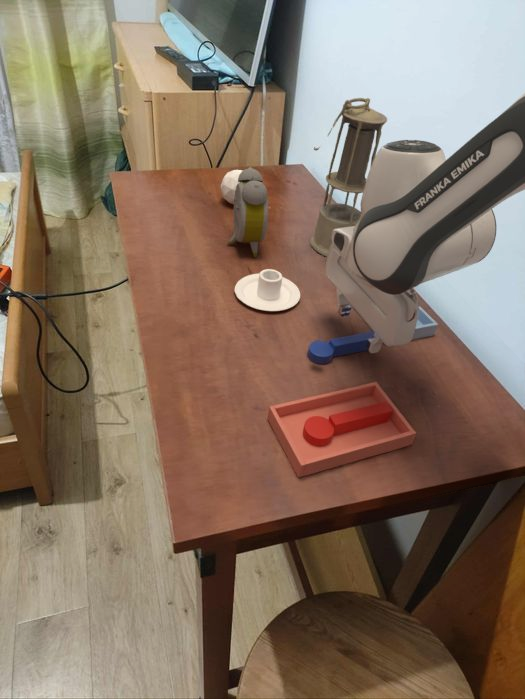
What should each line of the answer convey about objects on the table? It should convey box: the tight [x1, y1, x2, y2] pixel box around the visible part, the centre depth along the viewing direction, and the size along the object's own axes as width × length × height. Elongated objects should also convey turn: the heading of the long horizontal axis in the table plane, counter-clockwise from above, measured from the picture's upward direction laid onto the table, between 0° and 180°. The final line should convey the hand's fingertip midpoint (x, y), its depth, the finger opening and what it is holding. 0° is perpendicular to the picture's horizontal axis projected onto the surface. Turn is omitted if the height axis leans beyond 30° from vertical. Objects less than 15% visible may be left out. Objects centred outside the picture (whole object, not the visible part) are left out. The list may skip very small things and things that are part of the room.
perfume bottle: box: [220, 169, 244, 205], centre depth 120 cm, size 8×8×12 cm
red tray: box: [267, 381, 417, 478], centre depth 69 cm, size 17×10×2 cm, turn 112°
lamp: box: [309, 97, 388, 258], centre depth 100 cm, size 10×13×30 cm
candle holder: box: [233, 268, 301, 312], centre depth 92 cm, size 12×12×4 cm
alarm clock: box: [226, 166, 269, 258], centre depth 102 cm, size 12×7×15 cm, turn 9°
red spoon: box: [303, 402, 392, 446], centre depth 69 cm, size 13×4×2 cm, turn 112°
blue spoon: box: [307, 330, 376, 365], centre depth 83 cm, size 13×4×2 cm, turn 112°
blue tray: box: [350, 304, 439, 341], centre depth 92 cm, size 17×10×2 cm, turn 22°
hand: (356, 331), depth 82 cm, fingers open, 8 cm apart
